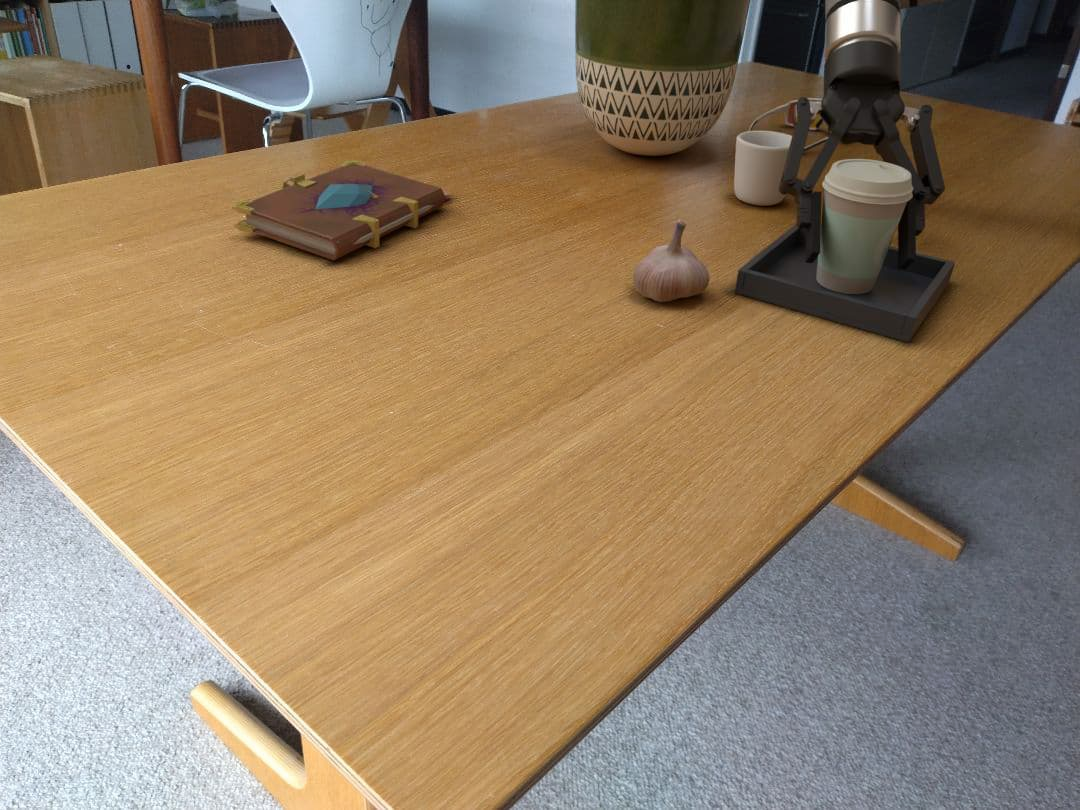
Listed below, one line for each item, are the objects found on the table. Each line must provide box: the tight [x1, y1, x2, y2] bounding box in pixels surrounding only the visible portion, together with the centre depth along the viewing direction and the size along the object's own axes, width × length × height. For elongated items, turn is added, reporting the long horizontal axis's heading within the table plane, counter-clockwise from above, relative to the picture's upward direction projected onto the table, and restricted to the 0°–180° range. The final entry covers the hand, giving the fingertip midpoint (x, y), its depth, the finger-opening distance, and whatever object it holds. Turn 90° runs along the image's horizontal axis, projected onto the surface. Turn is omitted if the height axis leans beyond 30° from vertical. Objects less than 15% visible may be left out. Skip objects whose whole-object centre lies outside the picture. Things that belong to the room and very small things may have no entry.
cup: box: [733, 130, 792, 207], centre depth 114 cm, size 11×8×8 cm
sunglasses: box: [748, 97, 832, 153], centre depth 140 cm, size 14×15×5 cm
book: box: [231, 159, 453, 261], centre depth 104 cm, size 16×25×5 cm, turn 151°
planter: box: [574, 0, 752, 157], centre depth 125 cm, size 24×24×27 cm
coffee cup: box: [816, 158, 913, 294], centre depth 89 cm, size 8×8×12 cm
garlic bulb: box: [632, 219, 710, 303], centre depth 87 cm, size 8×7×8 cm
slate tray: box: [734, 223, 956, 343], centre depth 91 cm, size 18×17×3 cm
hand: (859, 260), depth 87 cm, fingers closed on coffee cup, 8 cm apart
